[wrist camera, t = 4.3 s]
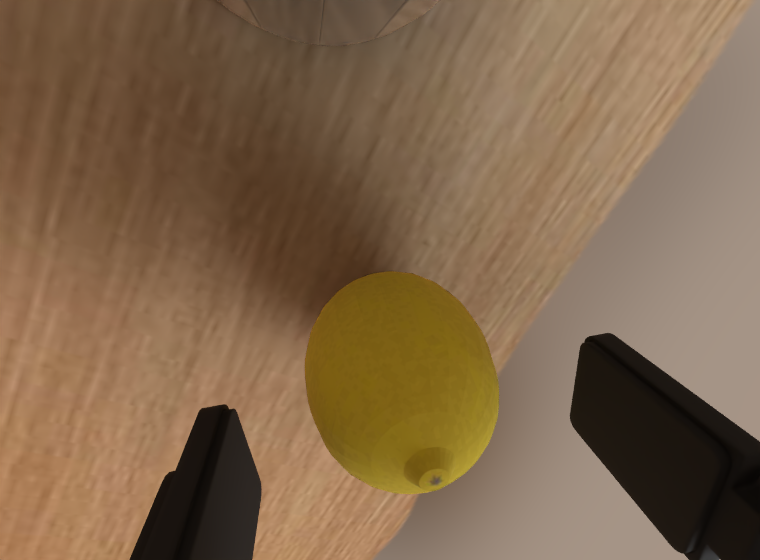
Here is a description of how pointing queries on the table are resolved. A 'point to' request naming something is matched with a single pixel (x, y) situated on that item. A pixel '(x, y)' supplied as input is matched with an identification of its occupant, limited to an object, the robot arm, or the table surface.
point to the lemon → (401, 383)
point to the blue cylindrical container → (329, 18)
